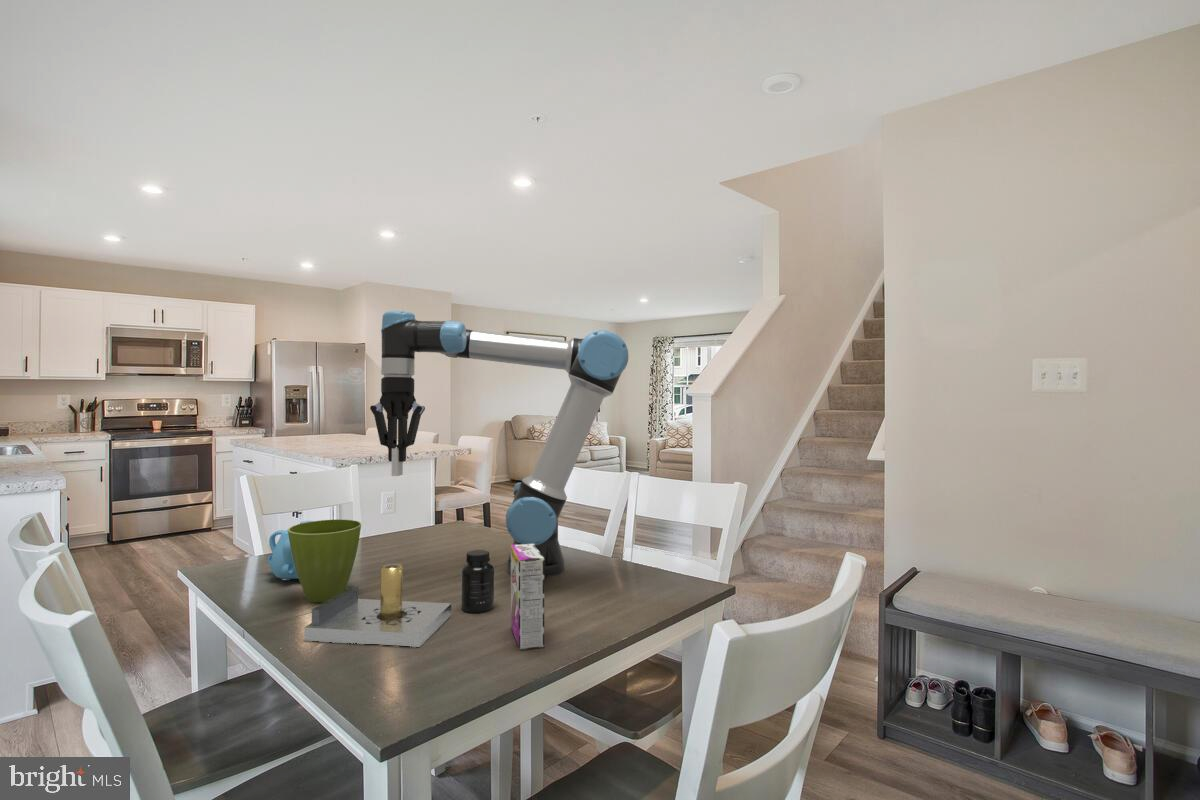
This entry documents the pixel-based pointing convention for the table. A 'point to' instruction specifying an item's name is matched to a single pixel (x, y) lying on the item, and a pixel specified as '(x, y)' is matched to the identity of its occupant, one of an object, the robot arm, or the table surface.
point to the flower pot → (324, 556)
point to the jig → (373, 621)
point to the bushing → (391, 592)
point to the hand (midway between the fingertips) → (397, 475)
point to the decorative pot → (282, 556)
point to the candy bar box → (527, 596)
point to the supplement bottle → (477, 582)
